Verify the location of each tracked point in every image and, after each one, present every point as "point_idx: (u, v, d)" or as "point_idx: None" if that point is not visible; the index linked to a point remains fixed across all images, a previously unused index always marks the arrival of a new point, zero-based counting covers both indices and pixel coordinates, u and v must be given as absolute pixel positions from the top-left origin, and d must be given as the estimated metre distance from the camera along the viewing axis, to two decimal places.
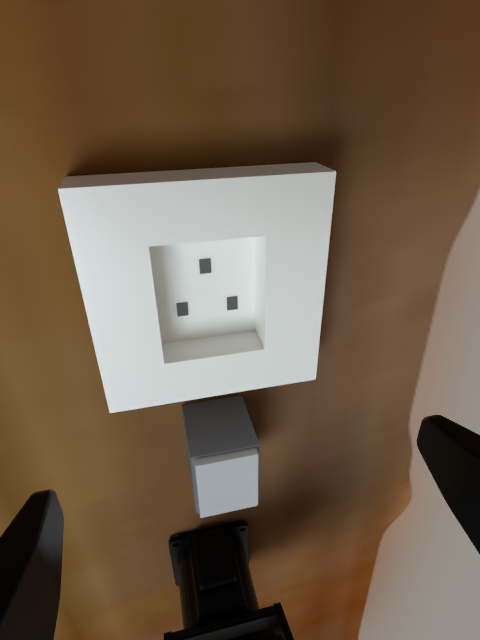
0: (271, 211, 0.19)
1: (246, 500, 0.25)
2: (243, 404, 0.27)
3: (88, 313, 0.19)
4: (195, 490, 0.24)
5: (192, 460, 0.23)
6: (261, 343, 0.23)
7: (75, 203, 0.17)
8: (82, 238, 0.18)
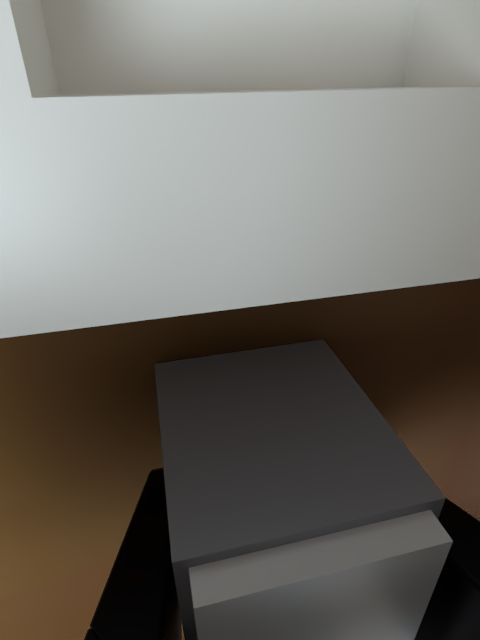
0: None
1: None
2: (337, 363, 0.09)
3: None
4: None
5: (181, 572, 0.05)
6: (462, 83, 0.06)
7: None
8: None
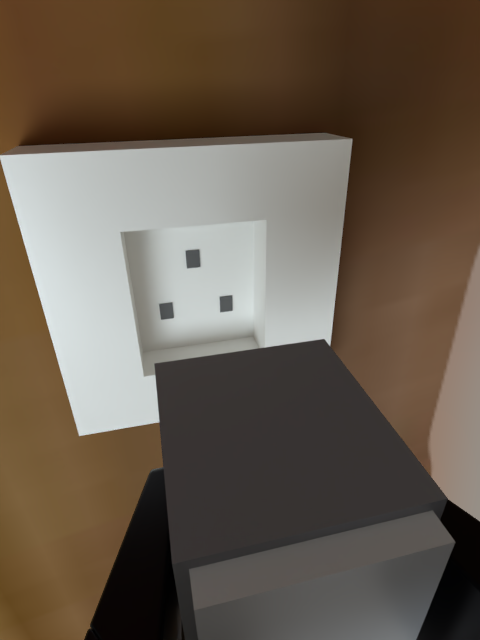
0: (272, 188, 0.15)
1: None
2: (338, 363, 0.09)
3: (47, 315, 0.16)
4: None
5: (182, 573, 0.05)
6: None
7: (23, 175, 0.13)
8: (35, 220, 0.14)
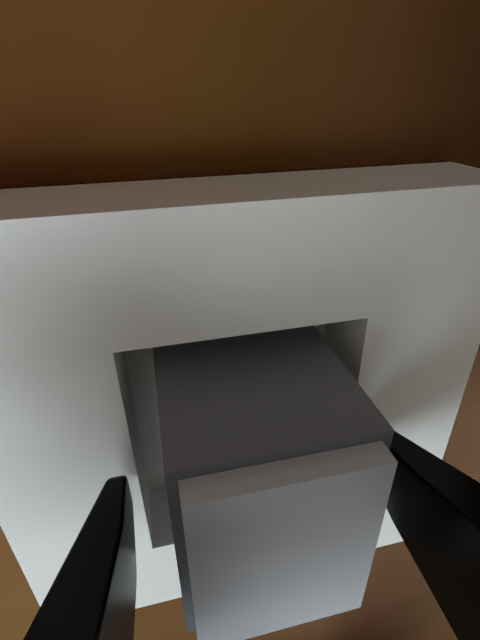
0: (385, 268, 0.09)
1: (333, 597, 0.09)
2: (313, 330, 0.10)
3: None
4: (183, 574, 0.08)
5: (172, 484, 0.07)
6: None
7: None
8: None
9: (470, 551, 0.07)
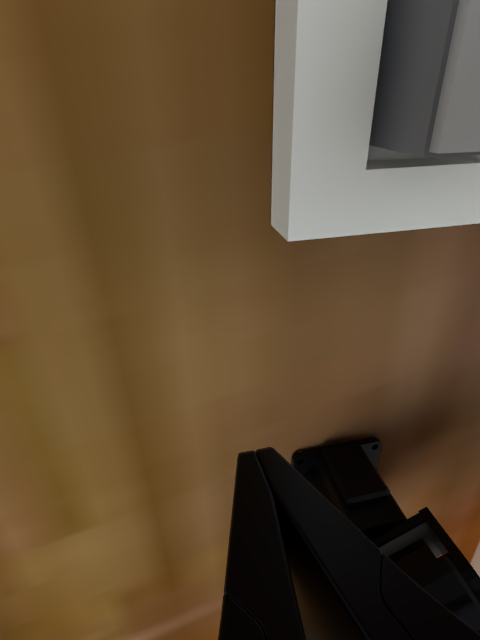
0: None
1: None
2: None
3: (297, 71, 0.15)
4: (438, 87, 0.13)
5: None
6: (472, 159, 0.18)
7: None
8: None
9: (319, 592, 0.07)
